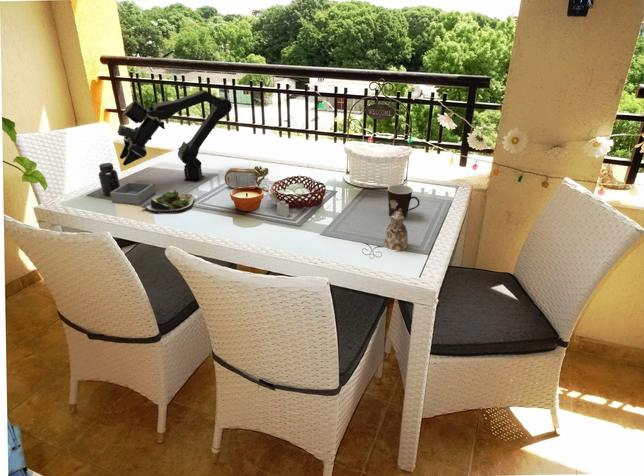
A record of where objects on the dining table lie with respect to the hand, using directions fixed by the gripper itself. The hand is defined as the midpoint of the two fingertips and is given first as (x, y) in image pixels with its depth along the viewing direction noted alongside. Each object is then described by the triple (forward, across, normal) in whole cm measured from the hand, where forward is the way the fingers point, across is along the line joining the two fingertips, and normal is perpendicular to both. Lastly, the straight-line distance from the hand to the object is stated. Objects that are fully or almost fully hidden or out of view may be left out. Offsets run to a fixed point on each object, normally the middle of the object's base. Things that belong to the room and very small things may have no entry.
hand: (122, 161), depth 179 cm
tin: (-21, +21, +39) cm, 49 cm away
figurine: (-39, +90, +56) cm, 114 cm away
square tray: (+8, +9, +9) cm, 15 cm away
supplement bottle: (+13, 0, +4) cm, 14 cm away
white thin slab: (-23, +51, +40) cm, 69 cm away
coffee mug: (-50, +74, +67) cm, 111 cm away
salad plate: (+1, +24, +18) cm, 29 cm away
